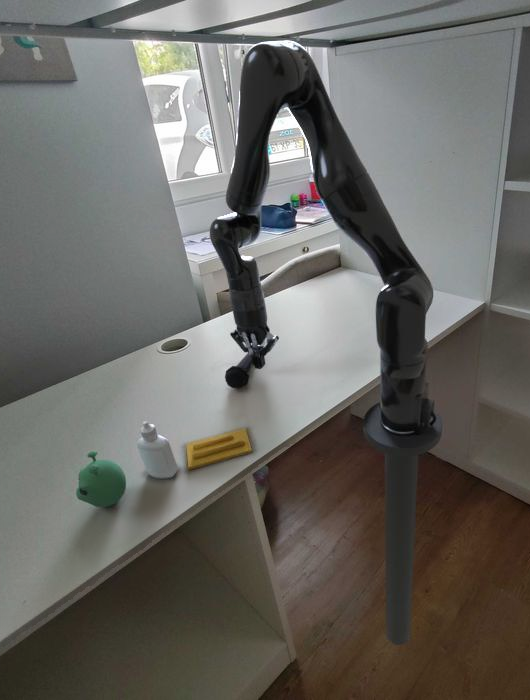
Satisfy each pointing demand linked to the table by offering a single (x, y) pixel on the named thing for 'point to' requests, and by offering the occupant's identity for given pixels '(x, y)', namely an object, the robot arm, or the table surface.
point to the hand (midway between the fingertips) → (259, 367)
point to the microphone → (239, 373)
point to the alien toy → (101, 482)
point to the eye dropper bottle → (156, 453)
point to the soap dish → (218, 448)
